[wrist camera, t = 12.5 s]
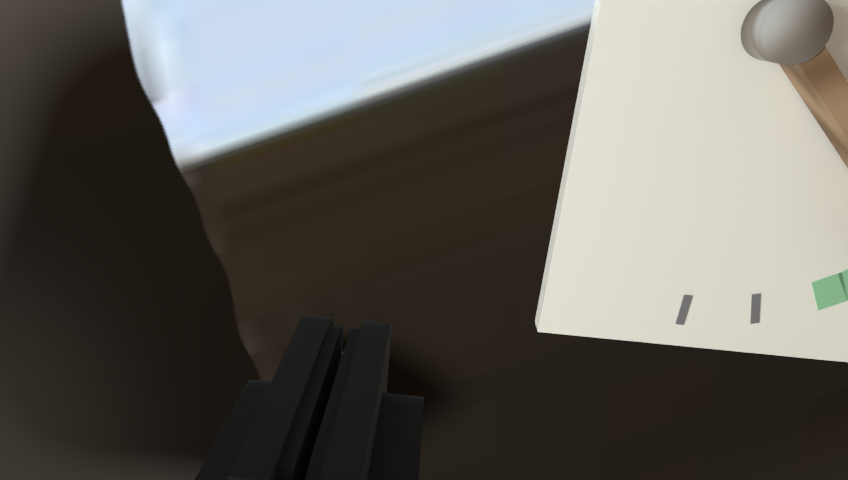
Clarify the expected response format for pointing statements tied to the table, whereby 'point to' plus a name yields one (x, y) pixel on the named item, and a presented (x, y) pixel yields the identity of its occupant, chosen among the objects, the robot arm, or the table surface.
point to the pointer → (803, 58)
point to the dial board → (698, 191)
